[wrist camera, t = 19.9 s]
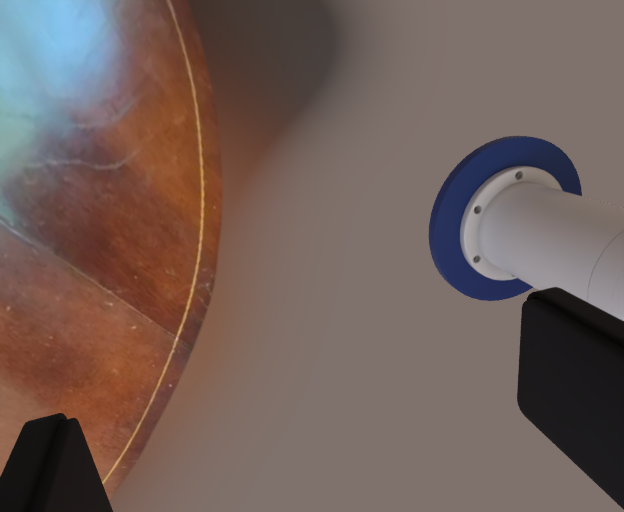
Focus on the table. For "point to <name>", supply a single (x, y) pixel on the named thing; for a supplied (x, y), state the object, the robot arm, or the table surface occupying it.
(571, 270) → the robot arm
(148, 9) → the table surface
